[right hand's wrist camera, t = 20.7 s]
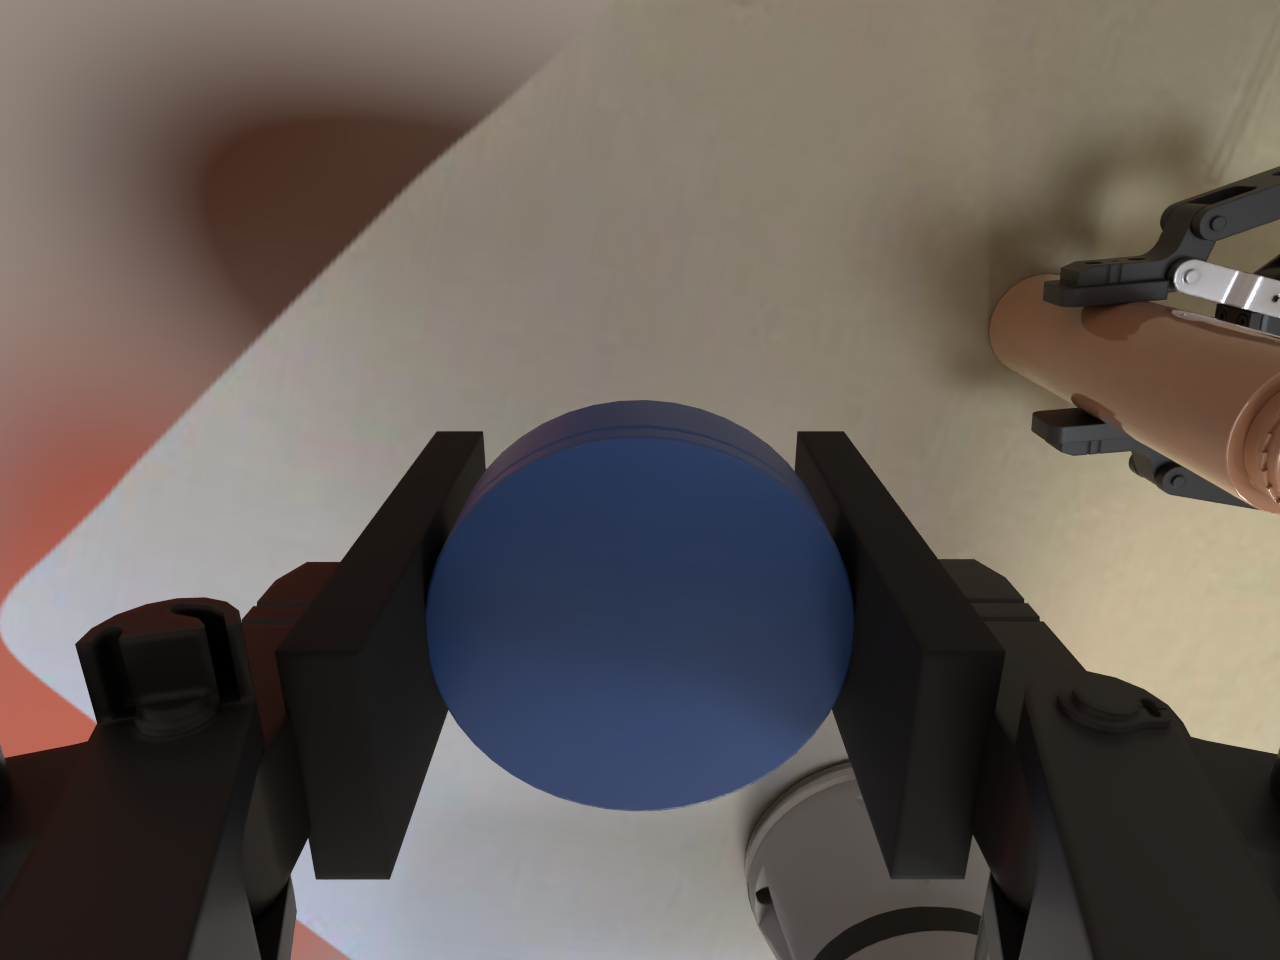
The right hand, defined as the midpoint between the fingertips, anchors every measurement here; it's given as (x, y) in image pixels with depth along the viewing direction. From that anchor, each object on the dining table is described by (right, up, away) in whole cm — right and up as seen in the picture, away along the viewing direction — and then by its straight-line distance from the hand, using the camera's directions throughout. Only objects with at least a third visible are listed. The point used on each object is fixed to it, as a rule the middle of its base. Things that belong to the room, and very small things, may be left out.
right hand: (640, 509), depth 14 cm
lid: (0, -1, -4) cm, 4 cm away
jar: (+18, +8, +25) cm, 32 cm away
